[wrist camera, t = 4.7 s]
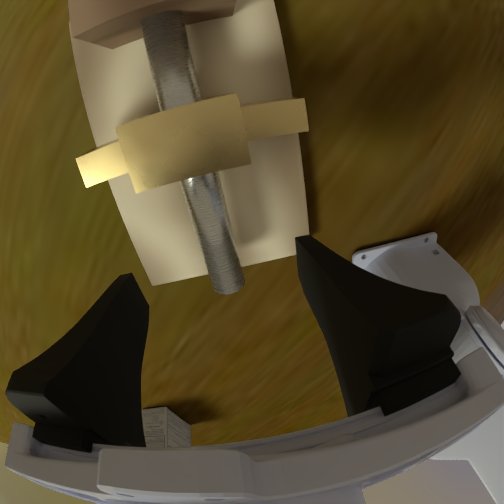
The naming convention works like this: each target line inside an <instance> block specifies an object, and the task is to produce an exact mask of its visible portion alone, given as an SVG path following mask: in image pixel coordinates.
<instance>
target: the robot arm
mask: <svg viewBox="0 0 504 504" xmlns="http://www.w3.org/2000/svg"><path fill="white" fill-rule="evenodd" d="M436 241H437V234H436V233H435V232H431V233H427V234H423V235H419V236H416V237H412V238H408V239H404V240H400V241H396V242H392V243H389V244H385V245H381V246H377V247H373V248H369V249H365V250H361V251H357V252H355V253H354V254H353V256H352V263H351V262H349V261H348V260H346V259H344V258H343V257H341V256H339V255H338V254H336V253H335V252H333V251H332V250H330V249H329V248H327V247H326V246H325V245H323V244H322V243H320V242H319V241H317V240H316V239H315V238H313V237H312V236H310V235H309V234H308V235H303V236H299V237H295V245H296V255H297V265H298V276H299V279H300V282H301V285H302V288H303V291H304V294H305V296H306V298H307V300H308V303H309V305H310V307H311V309H312V311H313V313H314V315H315V317H316V319H317V322H318V324H319V326H320V328H321V330H322V332H323V334H324V337H325V339H326V342H327V345H328V348H329V351H330V354H331V357H332V360H333V363H334V366H335V370H336V373H337V376H338V380H339V383H340V387H341V391H342V394H343V398H344V402H345V406H346V410H347V414H348V417H347V418H344V419H341V420H338V421H335V422H331V423H328V424H324V425H321V426H317V427H313V428H309V429H305V430H301V431H297V432H292V433H288V434H283V435H278V436H273V437H268V438H262V439H256V440H250V441H243V442H235V443H227V444H218V445H207V446H192V447H146V442H145V436H144V430H143V421H142V410H141V370H142V362H143V356H144V349H145V344H146V338H147V332H148V325H149V305H148V303H147V301H146V299H145V297H144V296H143V294H142V292H141V290H140V288H139V286H138V284H137V282H136V280H135V278H134V276H133V274H132V273H129V274H124V275H120V276H119V277H118V278H117V279H116V280H115V281H114V282H113V283H112V284H111V285H110V286H109V288H108V289H107V290H106V291H105V292H104V293H103V294H102V296H101V297H100V298H99V299H98V300H97V301H96V303H95V304H94V305H93V306H92V307H91V308H90V309H89V310H88V312H87V313H86V314H85V315H84V316H83V317H82V318H81V319H80V320H79V321H78V323H77V324H76V325H75V326H74V327H73V328H72V329H71V330H69V331H68V332H67V333H66V334H65V335H64V336H63V337H62V338H61V339H60V340H58V341H57V342H56V343H55V344H54V345H52V346H51V347H50V348H49V349H48V350H46V351H45V352H43V353H42V354H41V355H39V356H38V357H36V358H35V359H34V360H32V361H30V362H29V363H27V364H25V365H24V366H22V367H20V368H19V369H17V370H15V371H14V372H13V373H12V375H11V378H10V380H9V383H8V386H7V389H6V396H7V398H8V400H9V401H10V402H11V403H12V404H13V405H14V406H15V407H16V408H17V409H19V410H20V411H21V412H22V413H24V414H25V415H26V416H27V417H29V418H30V419H31V420H33V421H34V422H35V426H34V428H33V427H31V426H29V425H26V424H22V423H18V422H14V424H13V428H12V432H11V437H10V441H9V446H8V450H7V456H6V461H5V467H6V468H8V469H9V470H11V471H13V472H15V473H17V474H19V475H21V476H23V477H25V478H27V479H29V480H31V481H33V482H35V483H37V484H39V485H42V486H44V487H47V488H50V489H52V490H55V491H58V492H61V493H63V494H67V495H70V496H73V497H76V498H79V499H83V500H86V501H90V502H94V503H98V504H366V503H365V500H364V496H363V493H362V489H363V488H366V487H369V486H371V485H373V484H376V483H379V482H381V481H383V480H386V479H388V478H391V477H393V476H395V475H397V474H399V473H402V472H404V471H406V470H408V469H410V468H412V467H413V466H416V465H418V464H420V463H421V462H423V461H425V460H427V459H429V458H430V459H435V460H468V461H469V462H470V464H471V465H472V467H473V468H474V470H475V471H476V473H477V474H478V476H479V477H480V479H481V481H482V482H483V483H484V485H485V487H486V488H487V490H488V491H489V493H490V494H491V496H492V498H493V499H494V501H495V503H496V504H504V330H503V329H502V327H501V326H500V325H499V323H498V322H497V321H496V320H495V319H494V318H493V317H492V315H491V314H490V313H489V312H488V311H487V310H486V309H484V308H483V307H482V306H480V299H479V294H478V290H477V287H476V285H475V283H474V281H473V279H472V278H471V276H470V275H469V274H468V273H467V272H466V271H465V270H464V269H463V268H462V267H461V266H460V265H459V264H458V263H457V262H456V261H455V260H454V259H453V258H452V257H451V256H450V255H449V254H448V253H447V252H446V251H445V250H444V249H443V248H442V247H441V246H440V245H439V244H437V243H436ZM364 254H365V255H364ZM363 255H364V256H363ZM362 256H363V257H362Z"/></svg>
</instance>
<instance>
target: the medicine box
mask: <svg viewBox="0 0 504 504" xmlns="http://www.w3.org/2000/svg"><path fill="white" fill-rule="evenodd" d="M142 421H143V430H144V436H145V442H146V447H191V431H190V425H189V424H187V423H186V422H185V421H183V420H182V419H181V418H179V417H178V416H177V415H176V414H174V413H173V412H172V411H170V410H169V409H168V408H167V407H158V408H150V409H144V410H142Z"/></svg>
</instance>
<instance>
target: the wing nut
mask: <svg viewBox="0 0 504 504" xmlns="http://www.w3.org/2000/svg"><path fill="white" fill-rule="evenodd" d="M115 130H116V133H117V137H118V139H116V140H113V141H110V142H108V143H105V144H103V145H100V146H98V147H95V148H93V149H91V150H89V151H88V152H86V153H84V154H83V155H81V156H79V157H78V158H76V161H77V164H78V167H79V170H80V173H81V175H82V178H83V181H84V183H85V186H86V188H87V187H90V186H92V185H95V184H98V183H100V182H103V181H106V180H109V179H111V178H114V177H117V176H120V175H123V174H126V173H129V175H130V178H131V181H132V184H133V187H134V189H135V192H136V193H139V192H142V191H146V190H149V189H153V188H156V187H160V186H163V185H167V184H170V183H174V182H178V181H181V180H185V179H189V178H193V177H197V176H201V175H205V174H209V173H214V172H218V171H222V170H227V169H231V168H236V167H240V166H245V165H250V164H251V159H250V153H249V148H248V143H247V141H252V140H257V139H263V138H268V137H274V136H280V135H286V134H293V133H300V132H307V131H309V126H308V119H307V112H306V105H305V98H299V97H286V98H278V99H271V100H264V101H258V102H252V103H247V104H241V105H240V103H239V98H238V93H228V94H223V95H219V96H214V97H210V98H205V99H202V100H201V101H197V102H193V103H189V104H186V105H182V106H178V107H175V108H171V109H168V110H164V111H161V112H160V111H158V112H154V113H151V114H148V115H145V116H142V117H140V118H137V119H135V120H132V121H130V122H127V123H125V124H123V125H120V126H118V127H116V128H115Z"/></svg>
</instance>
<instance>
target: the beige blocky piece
mask: <svg viewBox="0 0 504 504" xmlns="http://www.w3.org/2000/svg"><path fill="white" fill-rule="evenodd" d="M68 6H69V15H70V21H69V28H70V35H71V41H72V47H73V53H74V59H75V64H76V69H77V74H78V78H79V83H80V87H81V91H82V96H83V100H84V104H85V107H86V111H87V115H88V119H89V122H90V126H91V129H92V133H93V136H94V139H95V143H96V146H97V147H98V146H100V145H103V144H105V143H108V142H110V141H113V140H116V139H118V137H117V133H116V130H115V128H116V127H118V126H120V125H123V124H125V123H127V122H130V121H132V120H135V119H137V118H140V117H142V116H145V115H148V114H151V113H154V112H158V111H160V109H159V105H158V101H157V97H156V92H155V88H154V84H153V80H152V75H151V71H150V67H149V62H148V58H147V53H146V48H145V43H144V39H143V34H142V29H141V21H142V20H143V19H145V18H147V17H149V16H151V15H153V14H156V13H159V12H163V11H169V10H179V11H182V12H183V17H184V22H185V26H186V31H187V36H188V41H189V45H190V50H191V54H192V59H193V64H194V68H195V73H196V77H197V82H198V86H199V91H200V95H201V99H205V98H210V97H214V96H219V95H223V94H228V93H238V98H239V103H240V105H241V104H247V103H252V102H258V101H264V100H271V99H278V98H286V97H293V95H292V89H291V83H290V78H289V72H288V66H287V61H286V56H285V51H284V45H283V40H282V36H281V31H280V26H279V22H278V17H277V13H276V8H275V4H274V0H68ZM247 143H248V148H249V153H250V159H251V164H250V165H245V166H240V167H236V168H231V169H227V170H222V171H218V173H219V177H220V181H221V185H222V190H223V194H224V198H225V202H226V206H227V210H228V214H229V218H230V223H231V227H232V231H233V235H234V239H235V243H236V247H237V251H238V255H239V259H240V263H241V267H243V266H247V265H252V264H256V263H261V262H265V261H270V260H274V259H279V258H283V257H288V256H292V255H296V245H295V237H299V236H303V235H308V234H309V225H308V214H307V204H306V194H305V184H304V175H303V167H302V158H301V150H300V143H299V135H298V133H293V134H286V135H280V136H274V137H268V138H263V139H257V140H252V141H247ZM108 182H109V184H110V187H111V190H112V193H113V195H114V198H115V200H116V203H117V206H118V208H119V211H120V213H121V216H122V218H123V221H124V223H125V226H126V228H127V230H128V233H129V235H130V237H131V240H132V242H133V244H134V247H135V249H136V251H137V253H138V256H139V258H140V260H141V262H142V264H143V267H144V269H145V271H146V273H147V275H148V277H149V279H150V281H151V283H152V285H153V286H154V285H159V284H164V283H169V282H173V281H178V280H183V279H187V278H192V277H197V276H201V275H206V274H208V271H207V268H206V265H205V262H204V259H203V256H202V253H201V250H200V247H199V244H198V240H197V237H196V234H195V231H194V228H193V225H192V222H191V218H190V215H189V212H188V209H187V205H186V202H185V199H184V196H183V192H182V189H181V185H180V182H179V181H178V182H174V183H170V184H167V185H163V186H160V187H156V188H153V189H149V190H146V191H142V192H139V193H136V192H135V189H134V187H133V184H132V181H131V178H130V175H129V173H126V174H123V175H120V176H117V177H114V178H111V179H109V180H108Z"/></svg>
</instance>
